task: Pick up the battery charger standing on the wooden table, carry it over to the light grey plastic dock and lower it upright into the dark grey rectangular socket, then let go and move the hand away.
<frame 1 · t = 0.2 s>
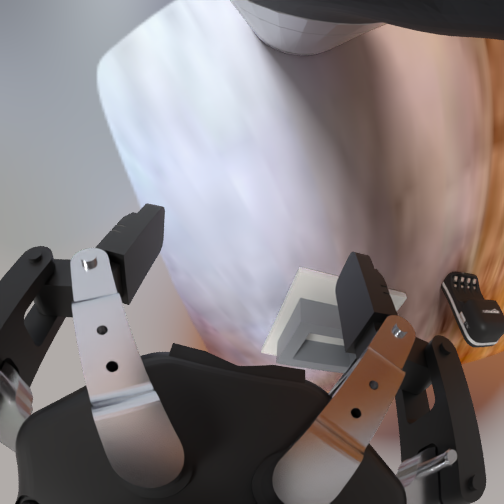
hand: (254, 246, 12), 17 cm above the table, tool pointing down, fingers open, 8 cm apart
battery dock: (329, 324, 40), on the table
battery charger: (460, 277, 32), on the table
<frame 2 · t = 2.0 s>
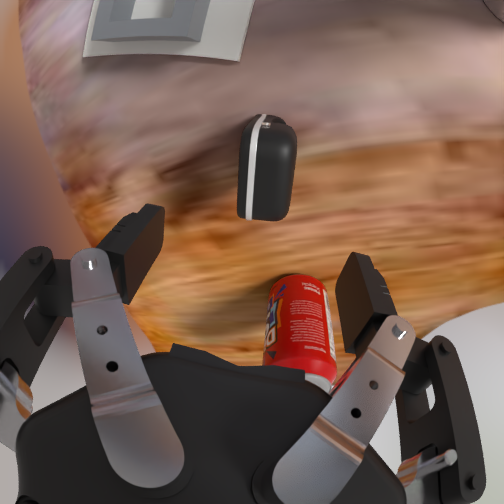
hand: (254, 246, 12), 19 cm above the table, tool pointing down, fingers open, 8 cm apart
soda can: (297, 291, 38), on the table
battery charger: (272, 145, 27), on the table
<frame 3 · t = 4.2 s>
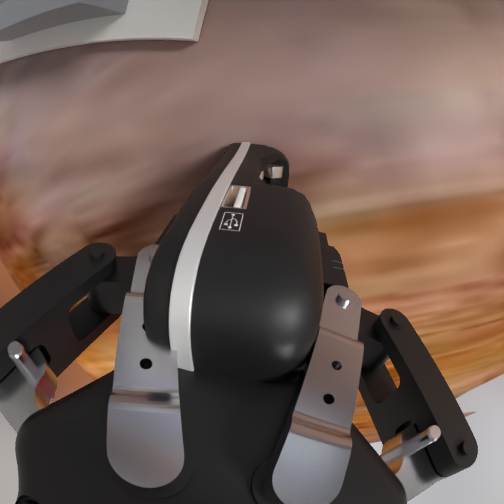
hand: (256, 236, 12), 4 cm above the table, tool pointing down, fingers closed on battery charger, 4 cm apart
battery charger: (262, 199, 16), on the table, touching gripper
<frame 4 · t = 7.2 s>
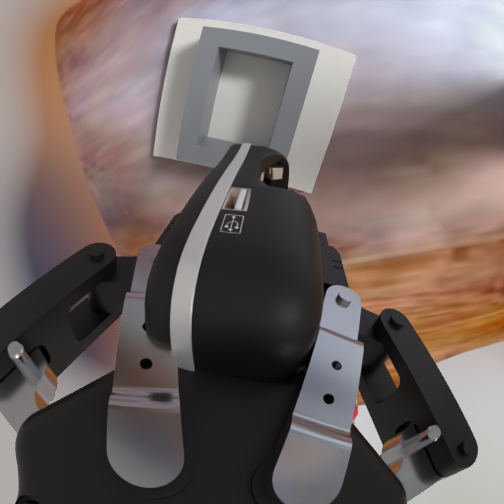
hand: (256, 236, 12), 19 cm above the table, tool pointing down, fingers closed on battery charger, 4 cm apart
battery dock: (248, 99, 26), on the table
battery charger: (262, 200, 16), point 15 cm above the table, touching gripper
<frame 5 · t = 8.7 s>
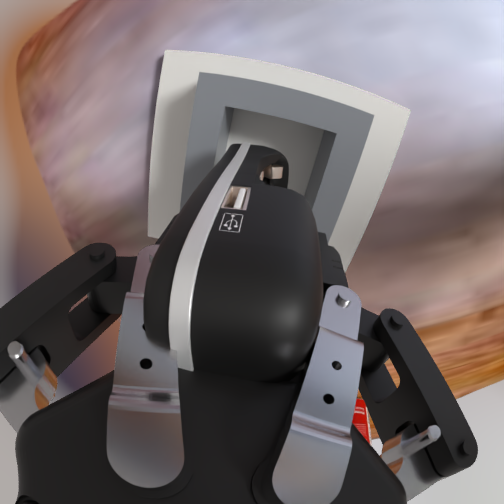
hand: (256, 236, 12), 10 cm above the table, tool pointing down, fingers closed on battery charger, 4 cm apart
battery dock: (266, 168, 21), on the table
soda can: (344, 402, 41), on the table
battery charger: (262, 199, 16), point 6 cm above the table, touching gripper
when the fingers open (6 cm above the table, at t = 10.1 s): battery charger stays where it is, resting on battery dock.
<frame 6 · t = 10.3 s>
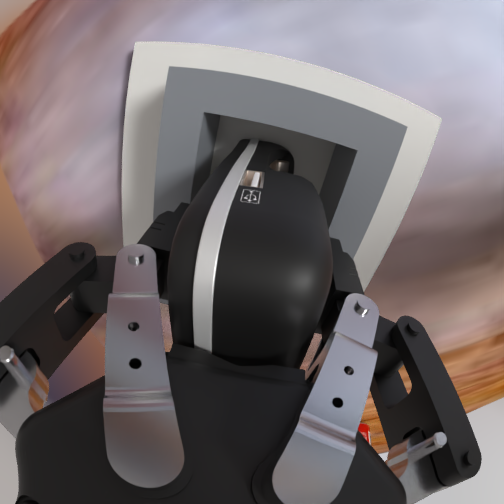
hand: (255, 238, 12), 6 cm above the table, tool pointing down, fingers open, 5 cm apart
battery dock: (263, 188, 17), on the table
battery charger: (267, 194, 16), point 1 cm above the table, touching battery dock
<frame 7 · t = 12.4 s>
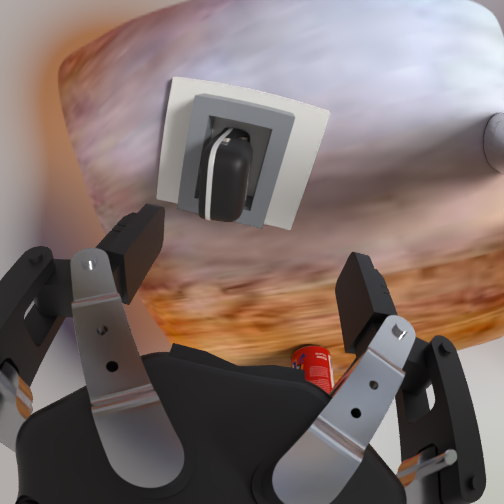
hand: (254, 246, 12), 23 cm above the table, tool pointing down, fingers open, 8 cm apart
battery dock: (236, 152, 32), on the table
soda can: (310, 352, 53), on the table
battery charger: (238, 154, 32), point 1 cm above the table, touching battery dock
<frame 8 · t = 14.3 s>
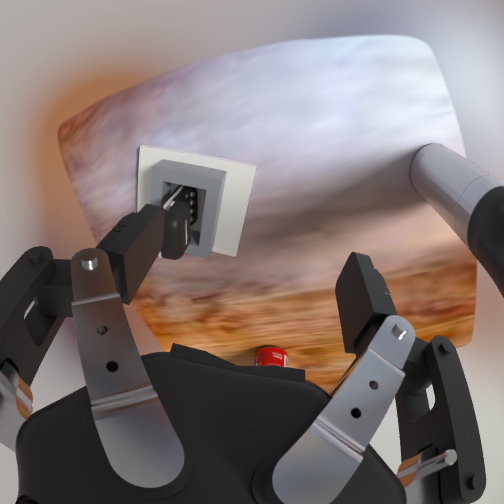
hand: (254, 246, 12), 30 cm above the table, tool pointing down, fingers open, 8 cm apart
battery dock: (190, 200, 44), on the table
soda can: (271, 352, 64), on the table
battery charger: (191, 203, 43), point 1 cm above the table, touching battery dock
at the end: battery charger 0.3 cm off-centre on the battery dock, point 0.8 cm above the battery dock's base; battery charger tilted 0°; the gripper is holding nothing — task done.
